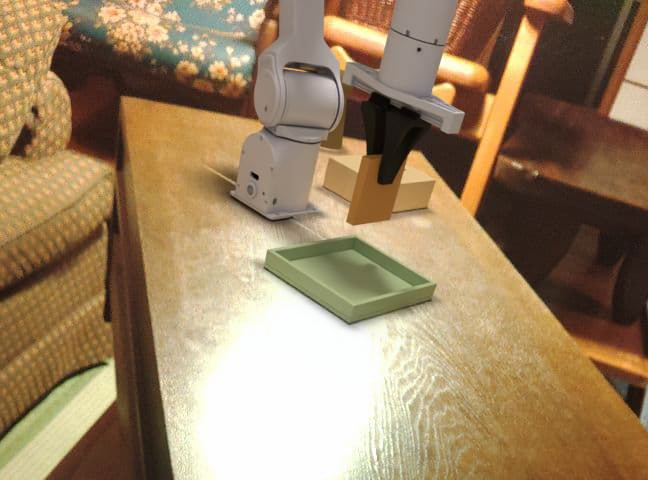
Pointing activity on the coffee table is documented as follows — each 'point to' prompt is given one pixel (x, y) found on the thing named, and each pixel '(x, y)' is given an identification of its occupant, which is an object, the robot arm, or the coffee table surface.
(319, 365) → the coffee table surface
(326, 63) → the robot arm
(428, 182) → the toaster
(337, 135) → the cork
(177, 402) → the coffee table surface
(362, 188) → the toast
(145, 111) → the coffee table surface
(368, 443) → the coffee table surface
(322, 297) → the tray
